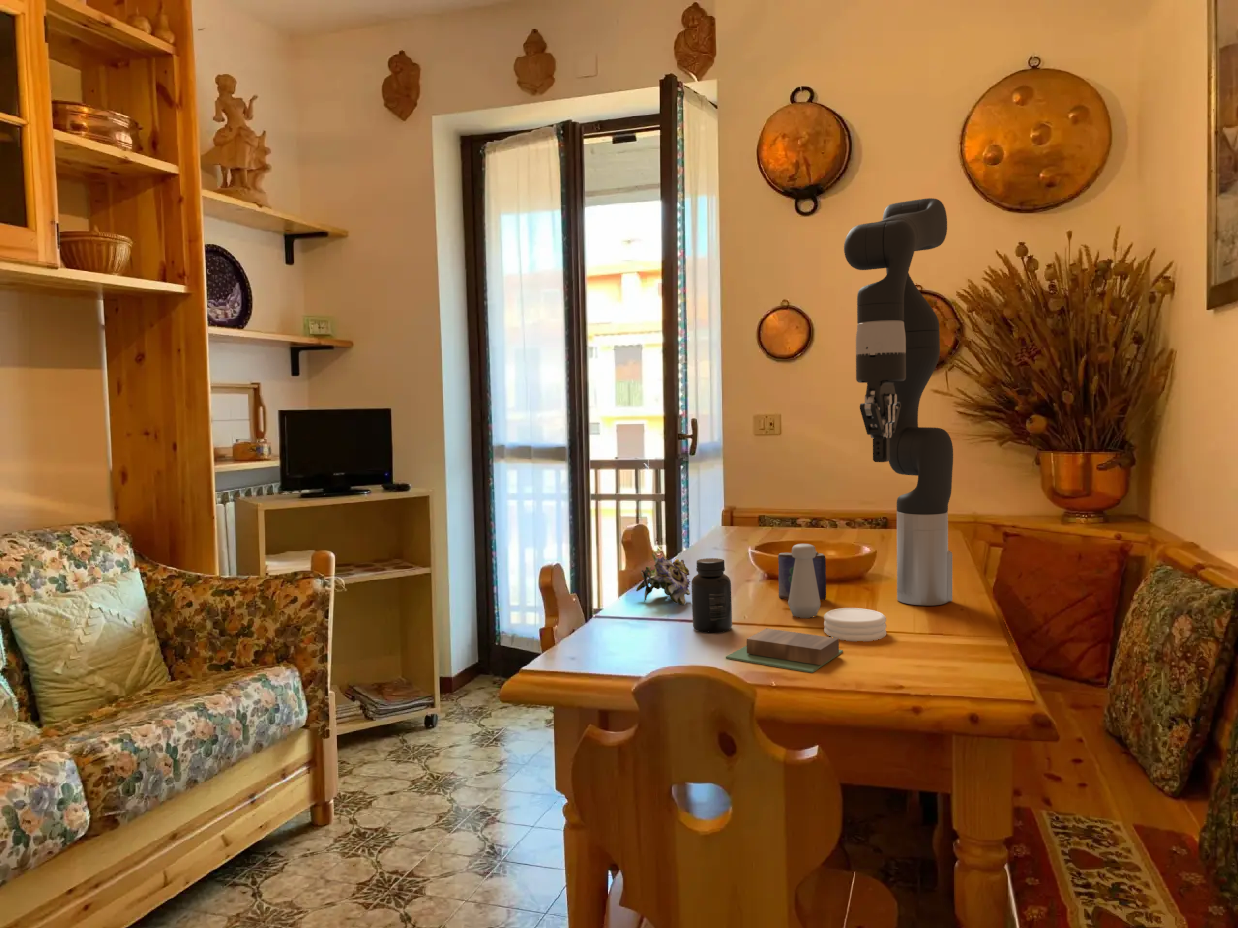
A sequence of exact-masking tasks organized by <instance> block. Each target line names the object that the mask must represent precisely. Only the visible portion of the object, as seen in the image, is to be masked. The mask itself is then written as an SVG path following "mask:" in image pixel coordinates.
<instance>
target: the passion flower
mask: <svg viewBox="0 0 1238 928" xmlns="http://www.w3.org/2000/svg"><path fill="white" fill-rule="evenodd" d="M651 556H652V559H653V562H654V565H653V566H654V569H651V568H652V566H647V565H646V566H645V569H641V571H640V574H641V577H642V579H643V581H642V582H640V583H639V585H638V586H637V587H636V590H635V592H639V591H641V590H642V589H644V588H645V590H644V602H646V600H647V597H648V595H649V594H651V592H653V589H656V590H660V589H663V592H664V594H665V595H666V596H669V598H670V600H671V601H672V602H673V603H674V604H676V605H677V604H679V605H681V606H685V605H686V597H685V595H687V596H689V595H691V592H690V589H689V588H690V584H691V583H692V580H691V581H690V579H689V578H688V576H690V570H689V568H688V567H687V566H686V564H685V560H684V559H681V560H680V559H679V558H676V559H674V560H672V559H669V560H668V559H667V558H665V557H664V556H661V558H659V557H657V555H656V554H655V553H653V552H652V553H651ZM649 584H650V585H649Z"/></svg>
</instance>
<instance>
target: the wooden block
mask: <svg viewBox="0 0 1238 928" xmlns="http://www.w3.org/2000/svg"><path fill="white" fill-rule="evenodd" d="M839 644H840V640H839V638H832V637H829V636H823V635H817V634H810V633H802V632H796V631H789V630H782V629H781V630H780V629H773V628H764V629H763V630H761V631H759V632H757V633H754V634H753V635H751V636H749V637H747V638H746V646H747V653H748V654H753V655H759V656H765V657H771V658H777V659H784V660H790V661H796V662H802V663H809V664H815V665H822V664H824V663H825V662H827V661H828V660H830V659H831V658H833V657H834V656H835V655H837V654H838V653H839V650H840V649H839V648H840V646H839ZM833 659H834V658H833Z"/></svg>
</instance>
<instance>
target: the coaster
mask: <svg viewBox="0 0 1238 928" xmlns="http://www.w3.org/2000/svg"><path fill="white" fill-rule="evenodd" d="M823 619H824V622H823V625H824V629H823V632H824V634H825V633H826V634H827V635H829V636H831V637H833V638H839V639H840V640H839V641H844V640H846V641H845V642H857V641H863V642H872V641H873V640H874V641H878V639H879V640H881V639H884V638H885V637H886V635H887V631H886V628H887V624H886V622H887V617H886V615H884V614H883V613H882V612H880V611H877V610H874V609H869V608H861V607H859V608H858V607H843V608H841V607H840V608H835V609H831V610H828V611H826V612H825V614H823ZM826 634H825V635H826ZM827 635H826V636H827ZM829 636H828V637H829Z"/></svg>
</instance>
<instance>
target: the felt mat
mask: <svg viewBox="0 0 1238 928" xmlns="http://www.w3.org/2000/svg"><path fill="white" fill-rule="evenodd" d="M843 652H844V650H843V649H839V653H838V654H837V655H835V656H834V657H833V658H831V659H830V660H828V661H827V662H825V663H824V664H822V665H815V664H809V663H802V662H796V661H790V660H784V659H777V658H771V657H765V656H759V655H753V654H748V653H747V645H745V646H743V647H741V648H739V649H737V650H735V651H734V652H731V653H730V654H728V655H726V656H725V659H726V660H727V659H728V660H733V661H739V662H745V663H751V664H759V665H764V666H770V667H774V668H781V669H787V670H793V671H799V672H803V673H804V672H805V673H812V674H813V673H815V672H816V671H817V670H819V669H820V668H822V667H823V666H825V665H826V664H828V663H829V662H831V661H832V660H833V659H835V658H837V657H838V656H840V654H842V653H843Z"/></svg>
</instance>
